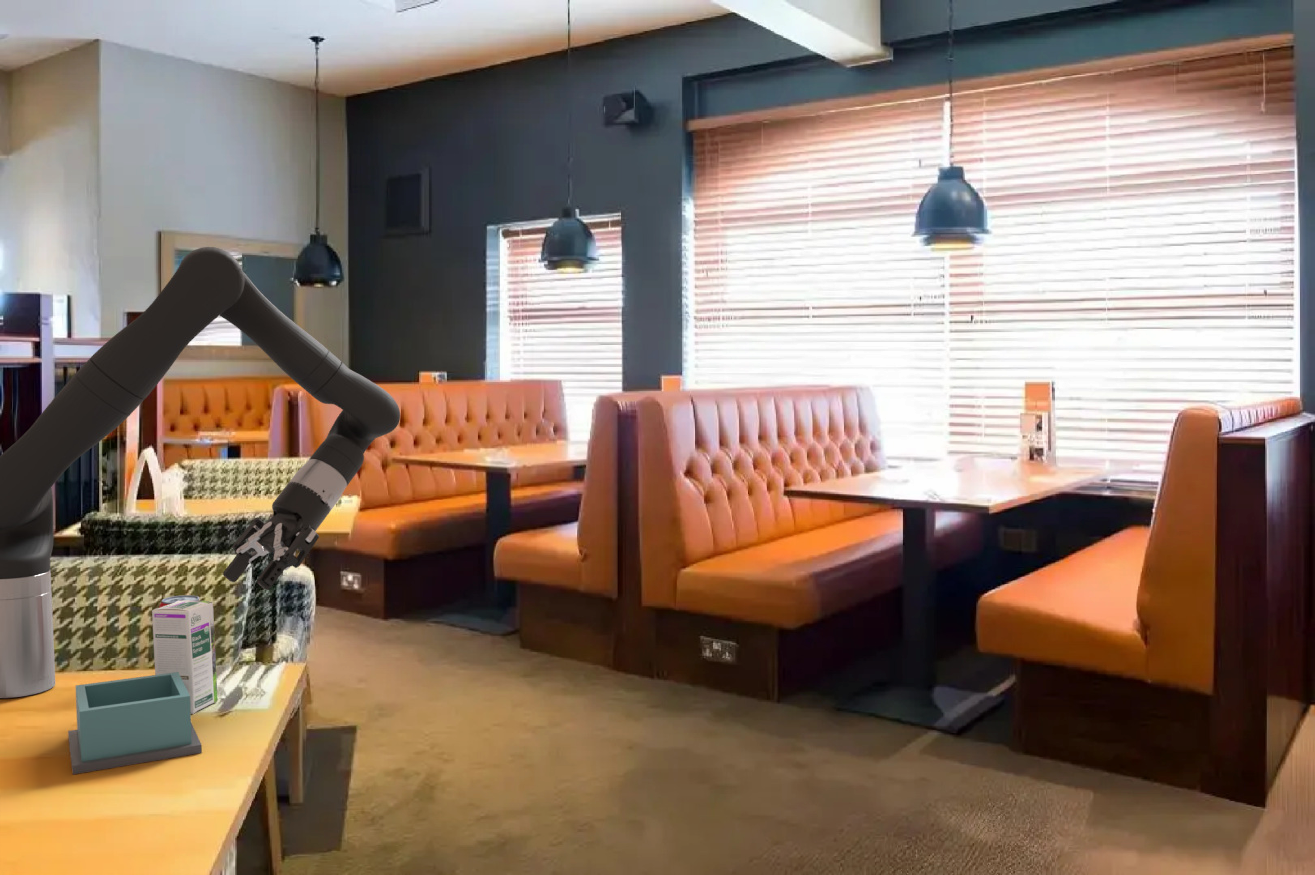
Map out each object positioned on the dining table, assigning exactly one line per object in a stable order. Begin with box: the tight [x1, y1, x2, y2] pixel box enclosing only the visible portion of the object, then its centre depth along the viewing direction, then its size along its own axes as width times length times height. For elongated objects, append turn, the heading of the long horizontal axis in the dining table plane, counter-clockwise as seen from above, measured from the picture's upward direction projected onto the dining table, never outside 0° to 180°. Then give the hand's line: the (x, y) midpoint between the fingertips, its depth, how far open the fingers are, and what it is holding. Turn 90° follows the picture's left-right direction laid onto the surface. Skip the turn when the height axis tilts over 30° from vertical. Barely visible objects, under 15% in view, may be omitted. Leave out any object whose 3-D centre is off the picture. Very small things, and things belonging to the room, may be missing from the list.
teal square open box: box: [67, 672, 203, 775], centre depth 137 cm, size 14×14×7 cm
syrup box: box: [151, 599, 219, 715], centre depth 152 cm, size 6×6×14 cm
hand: (244, 582), depth 159 cm, fingers open, 8 cm apart
